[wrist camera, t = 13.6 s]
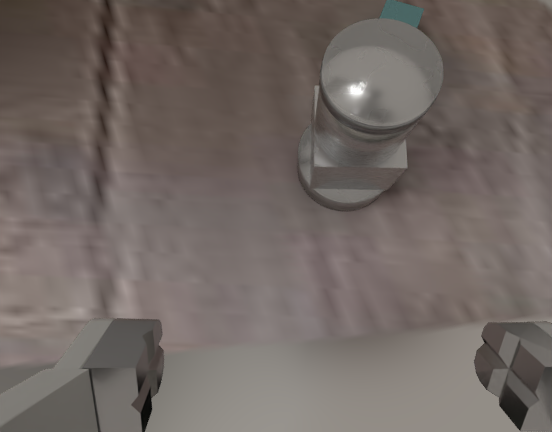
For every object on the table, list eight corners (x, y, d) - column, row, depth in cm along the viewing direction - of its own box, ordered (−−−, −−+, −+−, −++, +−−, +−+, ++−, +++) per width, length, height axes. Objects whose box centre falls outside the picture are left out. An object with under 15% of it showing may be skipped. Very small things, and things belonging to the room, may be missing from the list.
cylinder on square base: (309, 189, 23) (320, 122, 14) (310, 119, 24) (321, 17, 15) (388, 190, 23) (449, 123, 14) (384, 119, 24) (439, 17, 15)
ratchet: (372, 224, 25) (395, 204, 19) (283, 191, 26) (282, 163, 20) (438, 35, 28) (472, -26, 23) (358, 12, 29) (373, -53, 24)
